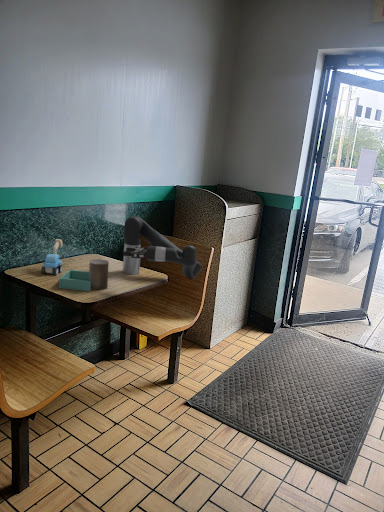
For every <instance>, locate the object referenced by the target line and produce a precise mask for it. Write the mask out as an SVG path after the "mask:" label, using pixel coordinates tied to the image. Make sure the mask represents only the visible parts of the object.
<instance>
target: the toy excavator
mask: <svg viewBox="0 0 384 512" xmlns="http://www.w3.org/2000/svg"><path fill="white" fill-rule="evenodd" d="M62 247H63V240H62V239H59V238H58V239H57V238H56V239H55V243H54V245H53V252H52V253H48V254H46V256H45V260H44V262H43V265H42V266H41V268H40V271H41V274H52V275H54V276H57V275H58V274H59V273H62V272H63V269H64V268H63V267H64V266H63V265H62V264H63V261H62V260H61V259H60V255H59V254H58V248H62Z"/></svg>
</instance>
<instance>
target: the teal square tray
mask: <svg viewBox="0 0 384 512" xmlns="http://www.w3.org/2000/svg"><path fill="white" fill-rule="evenodd" d="M58 288H59V289H66V290H73V291H74V290H77V291H84V292H91V281H89V271H85V270H75V269H71V268H70V269H68V270H67V272H65V273H64V274H62V276H60V277H59V278H58Z"/></svg>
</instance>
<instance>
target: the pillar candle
mask: <svg viewBox="0 0 384 512" xmlns="http://www.w3.org/2000/svg"><path fill="white" fill-rule="evenodd" d="M109 263H110V262H109V261H108V260H107V259H101V258H100V259H99V258H98V259H90V260H89V265H88V266H89V267H88V268H89V271H88V272H89V281H91V288H90V290H91V289H92V290H96V289H97V291H98V289H99V290H100V289H103V290H106V289H107V288H108V286H109V283H108V282H109V280H108V279H109V265H110V264H109ZM105 288H106V289H105ZM100 291H101V290H100Z"/></svg>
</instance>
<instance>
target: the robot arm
mask: <svg viewBox="0 0 384 512" xmlns="http://www.w3.org/2000/svg"><path fill="white" fill-rule="evenodd" d="M123 227H124V228H123V239H124V247H123V252H122V254H123V255H122V256H123V263H122V272H123V273H124V274H128V275H137V274H140V265H141V259H144V257H145V258H146V260H147V261H150V262H171V263H176V264H180V265H182V266H183V267H182V268H181V272H182V274H183V276H184V277H186V278H187V279H189V280H194V279H195V278H197V276H198V275H199V273H200V272H201V270H203V269H204V268H203V265H202V263H201V262H200V261H198V260H197V248H196V247H195V246H193V245H185V246H184V247H183V248H182V249H180V248H179V247H178V246H177V245H176V244H174V243H173V242H172V241H171V240H170V239H168V238H167V237H165V236H164V235H163V234H161V233H160V232H158V231H157V230H156V229H154V228H153V227H151V226H150V225H149V224H148V223H147V222H146V221H145V220H144V219H143V218H141V217H140V216H138V215H133V216H130V217H128V218H127V219H126V220H125V221H124V226H123ZM140 236H141V237H143V238H145V240H146V241H147V243H149V244H150V245H148V246H147V247H141V243H142V239H141V238H140Z"/></svg>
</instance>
